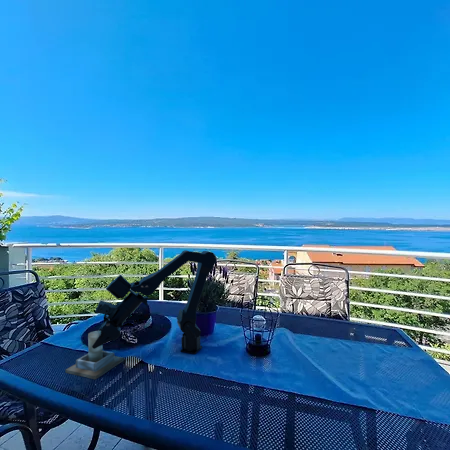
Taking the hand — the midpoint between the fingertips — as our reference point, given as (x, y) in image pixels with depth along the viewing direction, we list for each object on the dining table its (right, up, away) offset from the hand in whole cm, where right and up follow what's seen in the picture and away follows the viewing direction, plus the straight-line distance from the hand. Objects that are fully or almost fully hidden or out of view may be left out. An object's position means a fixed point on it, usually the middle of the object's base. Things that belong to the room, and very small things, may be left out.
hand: (94, 342), depth 95 cm
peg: (0, -7, 0) cm, 7 cm away
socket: (0, -8, 0) cm, 8 cm away
